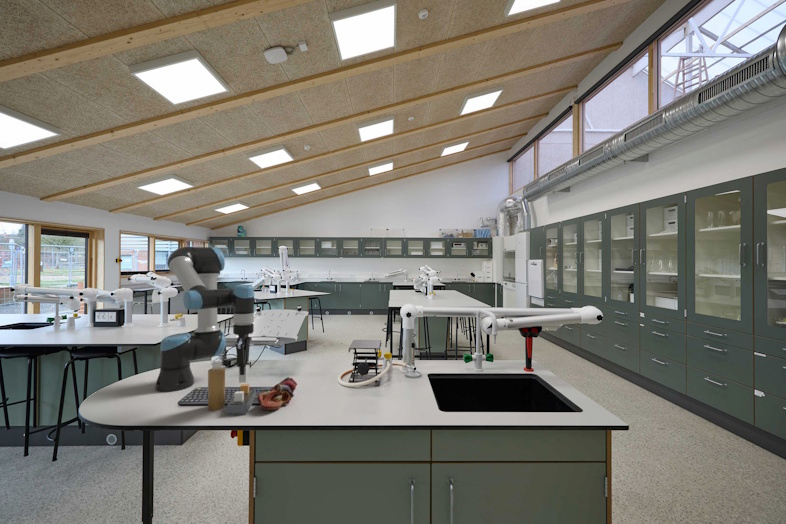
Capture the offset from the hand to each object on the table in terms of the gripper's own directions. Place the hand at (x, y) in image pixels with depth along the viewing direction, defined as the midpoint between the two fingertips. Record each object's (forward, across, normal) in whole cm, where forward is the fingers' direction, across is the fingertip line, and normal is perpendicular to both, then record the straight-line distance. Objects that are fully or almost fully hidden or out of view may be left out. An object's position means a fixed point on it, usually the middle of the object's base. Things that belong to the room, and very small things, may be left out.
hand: (242, 381), depth 140 cm
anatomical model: (+10, +2, +14) cm, 17 cm away
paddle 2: (+6, -3, 0) cm, 7 cm away
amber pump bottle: (+10, +1, -10) cm, 14 cm away
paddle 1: (+6, +5, 0) cm, 8 cm away
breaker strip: (+9, -2, 0) cm, 10 cm away
